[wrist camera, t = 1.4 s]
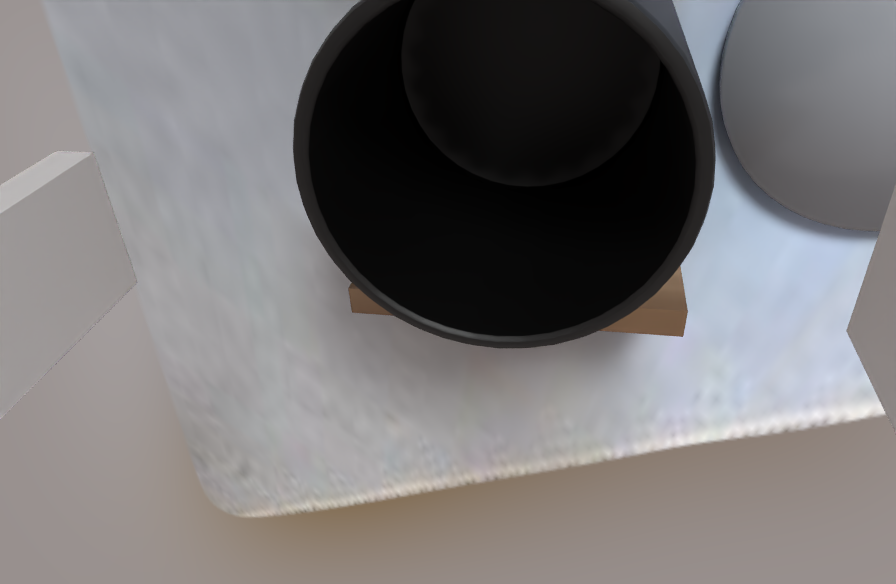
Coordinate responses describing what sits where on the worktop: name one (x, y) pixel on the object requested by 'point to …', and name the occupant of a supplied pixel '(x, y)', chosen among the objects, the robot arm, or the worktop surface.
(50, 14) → the worktop surface
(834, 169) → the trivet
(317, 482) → the worktop surface
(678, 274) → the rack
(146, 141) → the worktop surface
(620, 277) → the mug
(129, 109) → the worktop surface
